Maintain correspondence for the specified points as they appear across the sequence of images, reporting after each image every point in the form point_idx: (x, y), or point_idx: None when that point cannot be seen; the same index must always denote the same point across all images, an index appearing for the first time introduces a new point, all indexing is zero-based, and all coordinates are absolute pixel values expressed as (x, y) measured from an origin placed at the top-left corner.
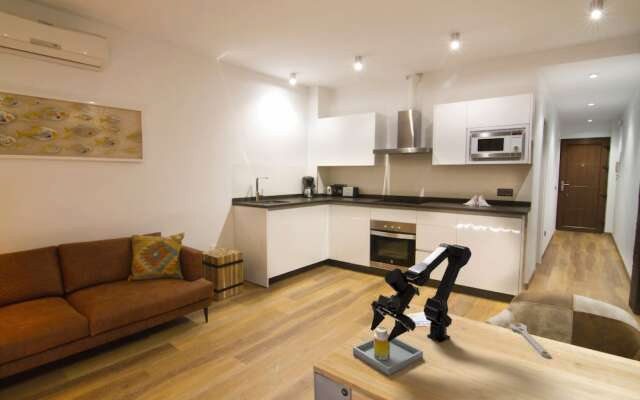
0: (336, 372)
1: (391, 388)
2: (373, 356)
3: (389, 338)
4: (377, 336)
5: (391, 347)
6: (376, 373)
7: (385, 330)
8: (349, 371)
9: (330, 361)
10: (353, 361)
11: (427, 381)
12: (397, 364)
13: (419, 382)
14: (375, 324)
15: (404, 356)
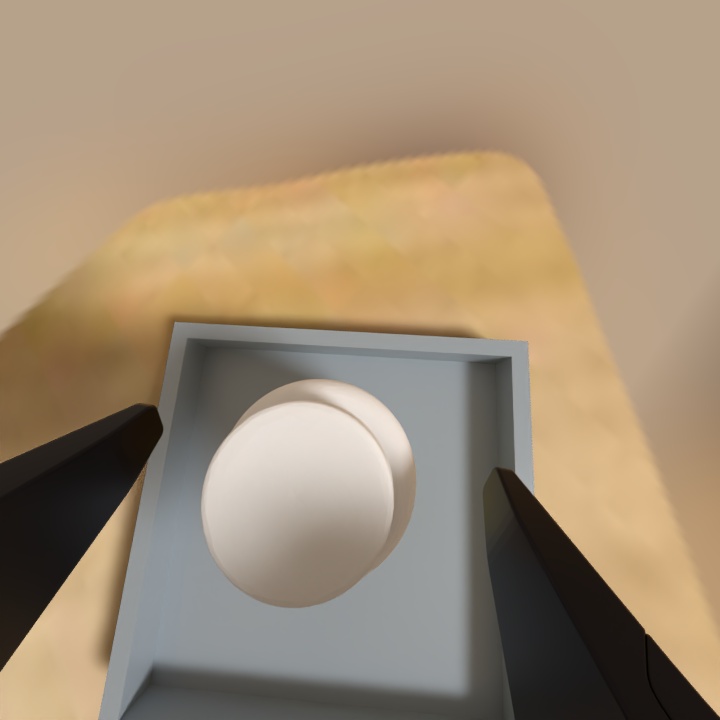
0: (415, 166)
1: (133, 269)
2: None
3: (114, 421)
4: (317, 397)
5: (379, 622)
6: (264, 306)
7: (219, 515)
8: (377, 216)
9: (520, 203)
10: (436, 295)
11: (8, 458)
12: (159, 408)
13: (41, 416)
14: (518, 588)
15: (232, 584)
